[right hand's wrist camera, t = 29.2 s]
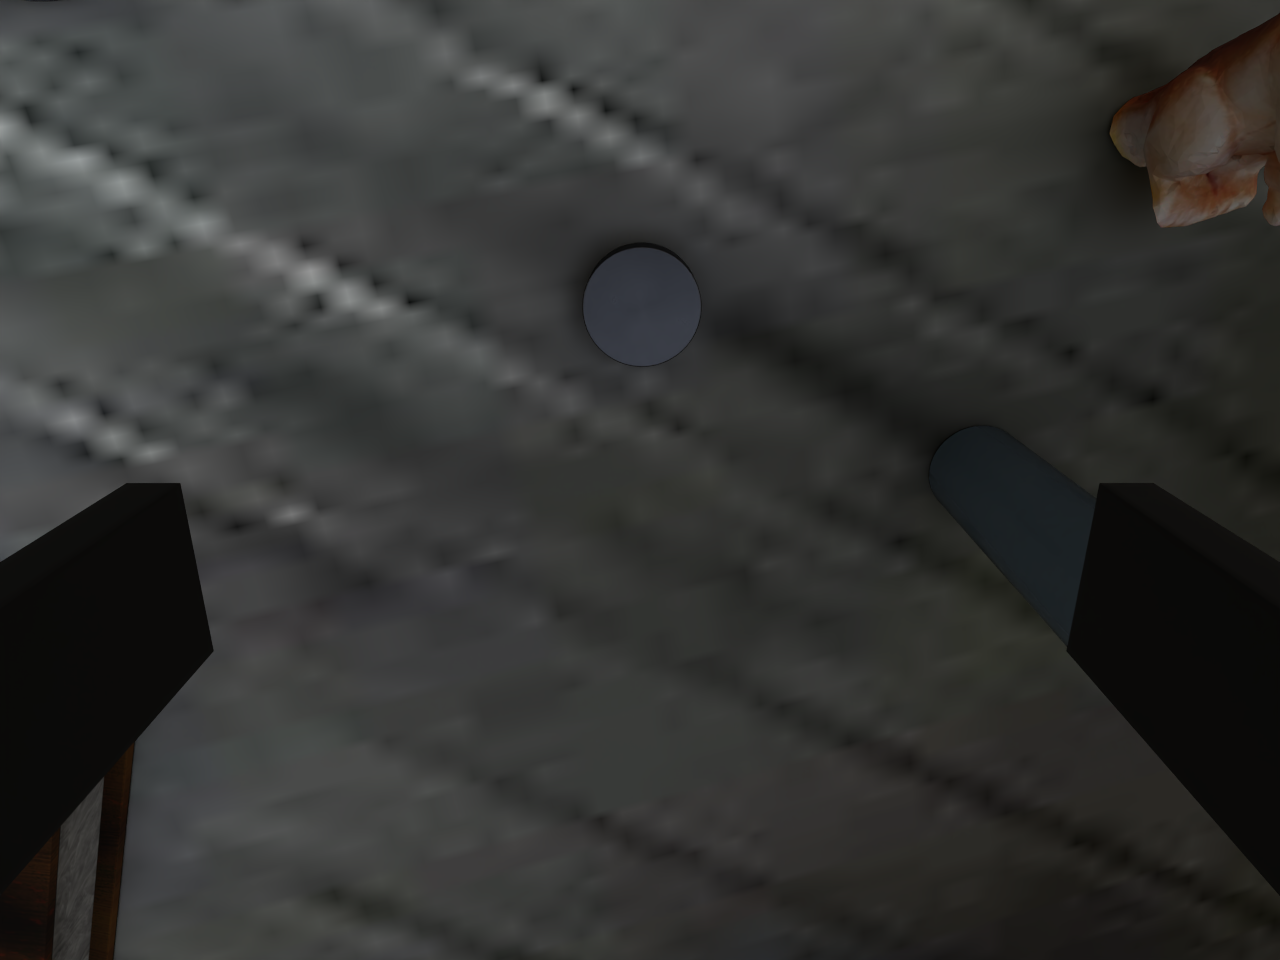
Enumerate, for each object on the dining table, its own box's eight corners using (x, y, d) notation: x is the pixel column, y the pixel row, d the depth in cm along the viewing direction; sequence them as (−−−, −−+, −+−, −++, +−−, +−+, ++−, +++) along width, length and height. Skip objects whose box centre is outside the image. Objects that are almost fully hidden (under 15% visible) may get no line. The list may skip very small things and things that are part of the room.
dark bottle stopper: (592, 362, 39) (589, 372, 37) (578, 248, 38) (575, 253, 36) (702, 351, 39) (705, 360, 37) (693, 236, 37) (696, 240, 35)
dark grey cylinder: (996, 406, 40) (1231, 567, 24) (1039, 481, 41) (1288, 679, 25) (911, 459, 41) (1083, 647, 25) (956, 530, 42) (1146, 751, 26)
